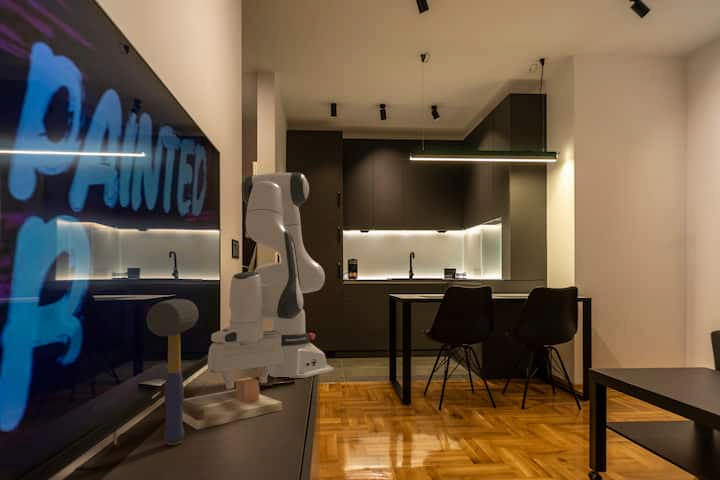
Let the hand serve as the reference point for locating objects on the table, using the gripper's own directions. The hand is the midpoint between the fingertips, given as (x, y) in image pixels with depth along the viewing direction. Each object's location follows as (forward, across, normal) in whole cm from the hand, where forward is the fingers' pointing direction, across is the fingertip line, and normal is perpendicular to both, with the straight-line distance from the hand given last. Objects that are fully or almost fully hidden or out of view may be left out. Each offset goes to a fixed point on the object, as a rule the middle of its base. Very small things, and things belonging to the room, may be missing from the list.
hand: (247, 385), depth 128 cm
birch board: (+6, +6, +2) cm, 8 cm away
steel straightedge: (+4, +6, -4) cm, 8 cm away
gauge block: (+4, 0, 0) cm, 4 cm away
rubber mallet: (+6, +24, +15) cm, 29 cm away
